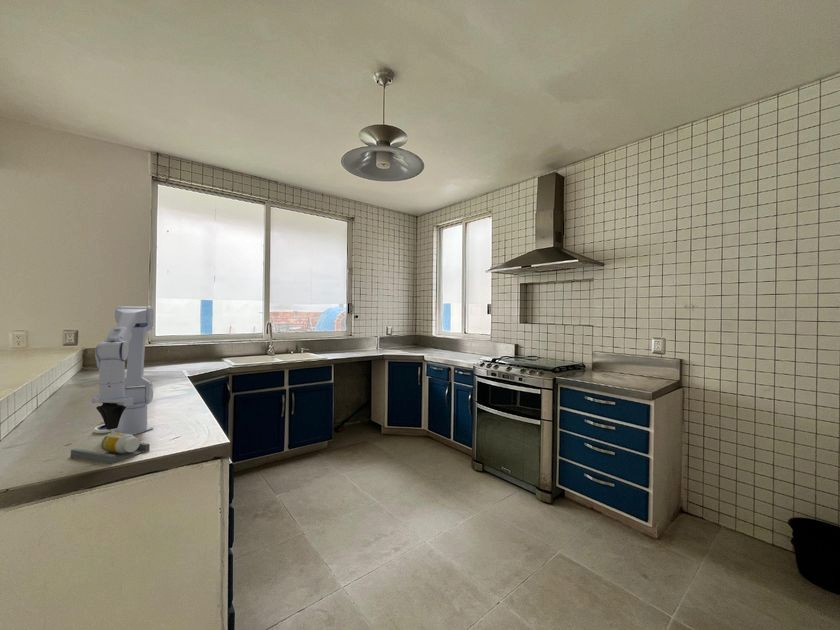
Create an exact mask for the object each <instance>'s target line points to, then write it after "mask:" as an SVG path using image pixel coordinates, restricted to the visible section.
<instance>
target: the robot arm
mask: <svg viewBox="0 0 840 630" xmlns="http://www.w3.org/2000/svg"><path fill="white" fill-rule="evenodd" d="M114 319H115V322H116V323H117V325H116V327H113V328H111V329H110V330H109V332H108V333H107V336H106V337H105V339H104V340H103V341H102V342H100V343H99V344H96V346H95V350H94V357H95V358H94V359H95V361H96V368H97V369H98V395H94V396H91V404H101V405H98V406H96V410H97V412H98V413H99V414H100V416H101V417H102V420H103V423H104V426H105V429H106V430H109V431H111V432H110V433H113V432H117V433H123V434H130V435H133V436H134V435H137V434H141V433H144V432H147V431H150V430H153V429H154V427H152V426H148V405H149V404H150V403H152V402H153V398H154V389H153V382H152V381H151V380H149V379H147V378H146V377H144V369H145V351H146V336H147V333H148V332H149V331H151V330H153V327H154V309H153V307H152V306H150V305H148V306H135V305H134V306H133V305H132V306H131V305H130V306H126V305H125V306H122V305H118V306H117V307H116V308H115V310H114ZM126 361H127V362H126ZM125 363H126V364H125ZM125 365H126V367H125ZM125 369H126V370H125ZM125 372H126V373H125ZM125 377H126V378H125ZM112 430H113V431H112Z"/></svg>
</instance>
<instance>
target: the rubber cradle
mask: <svg viewBox="0 0 840 630" xmlns="http://www.w3.org/2000/svg"><path fill="white" fill-rule="evenodd" d="M150 447H151V446H150V443H146V442H140V445H139V447H138V448H137V450H135V451H134V452H128V453H124V454H120V453H114V452H109V451H105V452H98V451H91V450H88V449H87V450H86V449H80V448H73V449H70V458H75V459H82V460H87V461H91V462H92V461H93V462H99V463H105V464H109V463H111V464H110V465H113V464H115V463H118V461H119V462H121V461H124V460H126V459H129V458H132V457H135V456H138V455H140V453H141V454H144V453H146V451H147V452H149V451H150V449H151V448H150ZM148 450H149V451H148ZM143 452H144V453H143ZM112 463H113V464H112Z"/></svg>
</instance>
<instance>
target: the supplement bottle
mask: <svg viewBox="0 0 840 630" xmlns="http://www.w3.org/2000/svg"><path fill="white" fill-rule="evenodd" d="M140 443H141V442H140V439H138V438H137V437H135V436H134V435H130V434H123V433H117V432H113V433H111V432H108V433H107V434H106V435H104V437H103V438H102V439H101V442H100V448H101V450H102V451H105V452H114V453H120V454H124V453H128V452H134V451H135V450H137V448H138V447H139V445H140Z"/></svg>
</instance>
